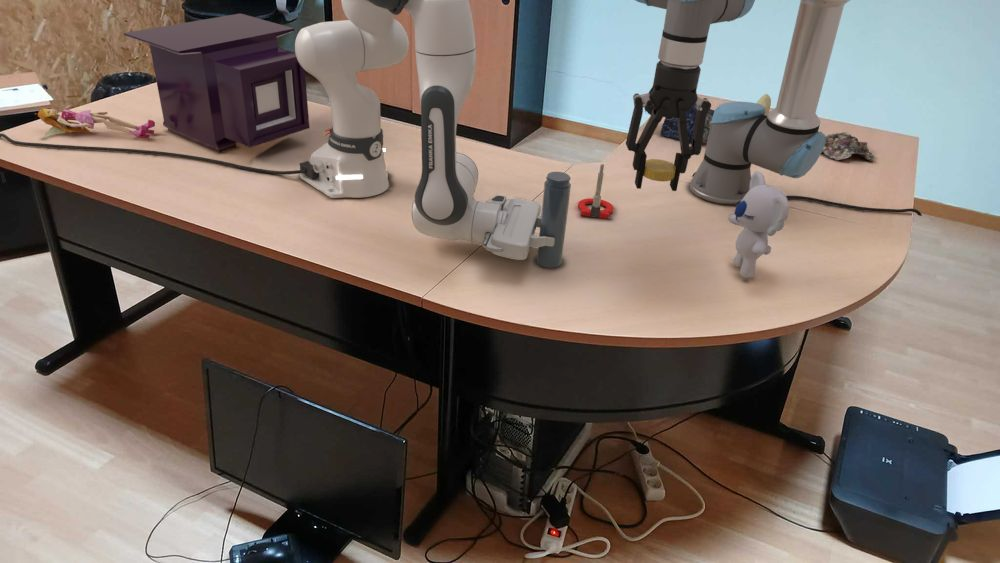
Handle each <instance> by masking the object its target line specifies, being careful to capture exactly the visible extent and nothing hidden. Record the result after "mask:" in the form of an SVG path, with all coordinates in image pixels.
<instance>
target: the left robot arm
mask: <svg viewBox="0 0 1000 563" xmlns="http://www.w3.org/2000/svg"><path fill="white" fill-rule="evenodd" d="M340 2H341V8H342V11H343V13H344V15H345V17H346V18H347V19H345V20H344V19H343V20H332V21H331V20H330V21H321V22H318V23H314V24H311V25H308V26H305V27H302V28H301V29H300V30H299V31H298V33H297V35H296V37H295V42H294V52H295V54H296V57H297V60H298V62H299V63H300V65H301V66H302V68H303V69H304V70H305V72H307V73H308V74H309V75H311V76H313V77H314V78H315V79H316V80H317V81H318V82H319V83H320V84H321V85H322V87H323V88H324V90H325V92H326V94H327V96H328V99H329V105H330V113H331V121H332V127H331V128H328V129H326V130H324V132H326V133H324V135H325V136H328V135H329V137H328V141H327V142H326V143H324V144H323V145H321V146H320V147H318V148H317V149H316V150H314V151H313V152H312V153H311V155H310V158H309V161H308V160H306V161H302V162H299V170H271V169H263V168H257V167H252V166H246V165H241V164H237V163H232V162H229V161H223V160H218V159H212V158H207V157H202V156H197V155H190V154H184V153H176V152H167V151H157V150H148V149H147V150H146V149H136V148H124V147H123V148H120V147H107V146H106V147H105V146H88V145H87V146H86V145H70V144H69V145H68V144H55V143H41V142H26V141H18V140H14V139H11V138H10V137H9V136H8V135H7V134H6V133H0V139H1V138H4V139H5V140H6V141H7V142H9V143H11V144H13V145H19V146H25V147H41V148H54V149H68V150H69V149H70V150H87V151H107V152H121V153H136V154H149V155H159V156H168V157H176V158H182V159H190V160H197V161H203V162H207V163H211V164H212V163H213V164H219V165H222V166H227V167H231V168H237V169H239V170H245V171H251V172H256V173H263V174H269V175H270V174H271V175H282V176H283V175H299V174H300V176H299V177H300V179H301V180H302V181H304V182H306V183H307V184H309V185H310V186H311V187H313V188H314V189H317V190H318V191H319V192H322V193H323V194H324V195H325V196H327V197H328V198H331V199H341V198H353V199H354V198H355V199H359V198H369V197H370V198H371V197H374V196H378V195H381V194H382V193H385V192H386V191H387V190H388V189H389V188H390V182H389V178H388V177H389V173H388V170H387V168H386V161H385V154H384V152H386V148H383V147H384V131H383V129H382V120H381V117H382V116H381V102H380V101H381V100H380V98H379V96H378V95H377V93H376V92H375V91H374V90H373V89H371V88H370V87H367V86H366V85H362V84H361V83H359V82H358V78H357V74H358V73H359V72H368V71H377V70H383V69H387V68H390V67H392V66H393V67H394V66H396V65H398V64H401V63H402V62H404V61H405V59H406V57H407V55H408V52H409V48H410V42H409V36H408V33H407V31H406V29H405V27H404V26H403V25H402V24H401V22H400V21H398V20H397V19H395V17H396V16H399V15H400V14H401V13H402V11H403V10H406V11H407V12H408V14H409V15H410V17H411V19H412V22H413V28H414V29H413V30H414V49H415V63H416V72H417V81H418V90H419V103H420V134H421V135H420V137H421V176H420V180H419V182H418V184H417V187H416V190H415V194H414V199H413V202H412V205H411V220H412V223H413V226H414V228H415V229H416V231H417V232H418V233H420V234H422V235H424V236H427V237H431V238H435V239H440V240H445V241H451V242H454V241H464V242H467V243H470V244H473V245H481V246H482V247H483V248H484V249H485V250H486V251H488V252H491V253H492V254H493V255H496V256H498V257H503V258H507V259H512V260H516V261H524V260H526V259H527V258H528V255H529V252H530V249H531V248H538V247H541V246H554V243H555V236H553V235H546V236H541V237H539V236H538V235H537V234H535V233H536V230H537V228H540V223H541V210H542V204H540V203H539V202H537V201H535V200H531V199H526V198H524V199H523V198H519V197H509V198H507V196H506V194H499V193H498V194H496V195H494V196H493V197H492V198H490V199H488V200H485V201H480V200H476V199H475V196H474V195H475V192H476V188H477V186H478V183H479V169H478V167H477V165H476V163H475V161H474V160H473V159H472V158H470V156H468V155H466V154H464V153H461V152H457V127H458V121H459V118H460V115H461V113H462V112H461V111H462V110H463V106H464V104H465V102H466V100H467V98H468V95H469V94H470V92H471V90H472V87H473V84H474V80H475V79H474V78H475V73H476V72H475V71H476V61H477V58H476V56H477V55H476V54H477V53H476V36H475V27H474V20H473V14H472V9H471V5H470V1H469V0H341V1H340ZM0 178H1V181H2V184H5V183H6V182H7V180H6V176H5V172H3V171H1V170H0Z"/></svg>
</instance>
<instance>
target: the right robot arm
mask: <svg viewBox="0 0 1000 563" xmlns="http://www.w3.org/2000/svg"><path fill="white" fill-rule="evenodd" d="M634 1H635V2H638V3H641V4H643V5H646V6H647V7H653V8H658V9H663V10H665V17H664V24H663V29H662V34H661V40H660V45H659V51H658V57H657V58H658V62H657V63H656V65H655V70H654V71H655V72H654V77H653V82H652V86H651V88H650V89H649V91H648V92H647V93H643V94H639V93H634V94H633V96H632V99H633V111H632V114H631V115H632V116H631V119H630V124H629V127H628V128H629V129H628V132H627V136H626V141H625V145H626V148H627V150H628V151H629V152H633V153H634V154H633V160H632V169H633V171H636V172H635V179H634V185H635V187H636V189H638V190H641V189H642V185H643V179H644V176H643V174H644V169H645V163H646V160H647V159H648V158H647V157H648V155H647V153H646V151H645V150H646V149H647V147H648V145H649V143H650V141H651V139H652V138H653V136H654V133H655V131H656V129H657V127H658V126H659V124H660V123H661V121H662V120H663V118H665V117H669V116H671V117H674V118H677V123H678V131H679V139H680V140H679V146H680V152H675V157H674V161H673V164H674V165H675V166H676V170H675V171H676V172H675V177H674V178H673V179H672V180H670V181H669V187H670V189H671V191H672V192H677V190H678V186H679V180H680V176H681V174H686V171H687V168H688V162H689V160H690V159H691V158H692V156H694V155H695V156H700V155H701V152H702V145H703V141H704V140H703V133H704V127H705V121H706V115H707V113H708V111H709V109H712V108H711V107H712V103H711V102H710V101H709V98H707V97H704V98H702V97H699V96H698V93H697V89H698V84H699V81H700V76H701V71H702V69H701V67H700V66H701V65H702V64H703V62H704V55H705V50H706V46H707V41H708V36H709V32H710V27H711V25H713V24H717V23H726V22H733V21H736V19H740V18H743V17H744V16H746V15H747V14H748V13H749V12H750V11H751V10H752V9H753V6H754V4H755V2H756V0H634ZM850 1H851V0H800V2H799V7H798V10H797V15H796V19H795V23H794V28H793V32H792V37H791V41H790V45H789V50H788V54H787V58H786V62H785V67H784V71H783V76H782V80H781V85H780V89H779V93H778V97H777V101H776V107H775V108H773V109H771V110H769V113H768V114H767V116H766V115H764V114H765V113H766V111H765V107H764V106H762V105H761V104H757V102H752V101H750V102H749V101H727V102H724V103H721V104H719V105H718V106H716V107H715V109H714V115H713V118H712V121H711V126H710V131H709V136H708V140H707V142H706V145H705V150H704V154H703V159H702V161H701V163H700V165H699V166H698V168H697V169H696V171H695V172H693V173H692V175H691V178H692V179H691V181H690V184H689V189H690V191H691V193H693V194H694V196H696V197H698V198H700V199H702V200H704V201H707V202H710V203H713V204H717V205H726V206H727V205H729V206H734V205H735V204H737V203H738V202H739V201H740V202H741V201H742V199H743V198H744V196H745V195H746V194H747V192H748V191H749V190H750V180H751V177H752V174H751V167H752V165H754V166H757V167H759V168H762V169H765V170H767V171H770V172H773V173H775V174H778V175H779V176H785V177H788V178H791V179H799V178H802V177H803V176H806V174H807V173H809V172H810V171H811V169H812V168H813V167H814V166H815V164H816V163H817V161H818V160H819V158H820V157H821V155H822V153H823V152H822V150H823V148H824V145H825V142H826V139H825V138H826V136H827V135H826V134H825V133H823V131H819V129H820V125H821V119H820V118H819V116H818V115H817V109H818V106H819V101H820V97H821V93H822V90H823V87H824V83H825V79H826V76H827V71H828V68H829V65H830V60H831V56H832V52H833V49H834V45H835V41H836V38H837V33H838V30H839V26H840V23H841V19H842V15H843V11H844V7H845V5H846V4H847V3H849V2H850ZM649 100H651V102H652V104H653V106H654V109H653V110H652V113H651V115H649V118H648V120H647V122H646V124H645V126H644V128H643V130H642V132H641V134H640V136H639V138H638V135H639V130H640V126H641V122H642V119H643V113H644V107H645V106H646V105H647V102H648V101H649ZM695 103H696V109H697V112H696V118H695V125H694V131H693V138H692V143H691V145H690V142H689V140H688V131H687V118H686V112H687V111H688V110H689V109H690V108H691V107H692V106H693V105H694V104H695ZM637 139H638V140H637ZM786 197H787V200H805V201H811V202H816V203H821V204H825V205H830V206H836V207H841V208H847V209H853V210H859V211H867V212H880V213H897V214H898V213H911V212H912V213H916V214H917V216H920V217H922V216H923V214H922V212H921V211H919V210H918V209H916V208H901V209H899V208H898V209H896V208H880V207H879V208H877V207H867V206H858V205H851V204H847V203H841V202H840V203H839V202H835V201H831V200H830V201H829V200H824V199H820V198H816V197H815V198H814V197H810V196H804V195H803V196H802V195H786ZM740 202H739V203H740Z"/></svg>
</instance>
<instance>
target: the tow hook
mask: <svg viewBox="0 0 1000 563" xmlns="http://www.w3.org/2000/svg"><path fill="white" fill-rule="evenodd" d="M604 167H605V164H604V163H600V166H599V172H598V174H597V180H596V187H595V192H594V193H595V194H594V195H593V198H591V197H590V198H583V199H581V200H579V201H578V203H577V208H578V209H579V210H580V216H587V217H592V218H601V219H603V218H604V219H609V218H610V214H612V213H613V211H614V205H613V204H612V203H611V202H609V201H607V200H605V199H602V187H603V180H604V169H605V168H604ZM588 204H589V205H590V204H591V206H590V207H587V206H586V205H588ZM602 206H603V207H604V209H601V207H602Z"/></svg>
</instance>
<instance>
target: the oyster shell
mask: <svg viewBox="0 0 1000 563" xmlns="http://www.w3.org/2000/svg"><path fill="white" fill-rule="evenodd" d="M825 136H826V138H825V139H826V142H825V145H824V148H823V150H822V153H824V155H825V156H827V157H828V158H830V159H832V160H835V161H839V160H840V161H841V160H844V159H848V158H851V157H852V155H853V154H854V155H857V154H859V155H860V156H861V158H863V159H865V160H866V161H871V162H874V160H875V159H874V158H875V155H874V154H873V153H872V152H871V151H870V149H869V147H868V142H867V141H859V139H858V137H855V136H853V135H852V134H851V133H849V132H848V131H846V132H844V131H843V132H836V133H830V134H827V135H825ZM873 157H874V158H873Z"/></svg>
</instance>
